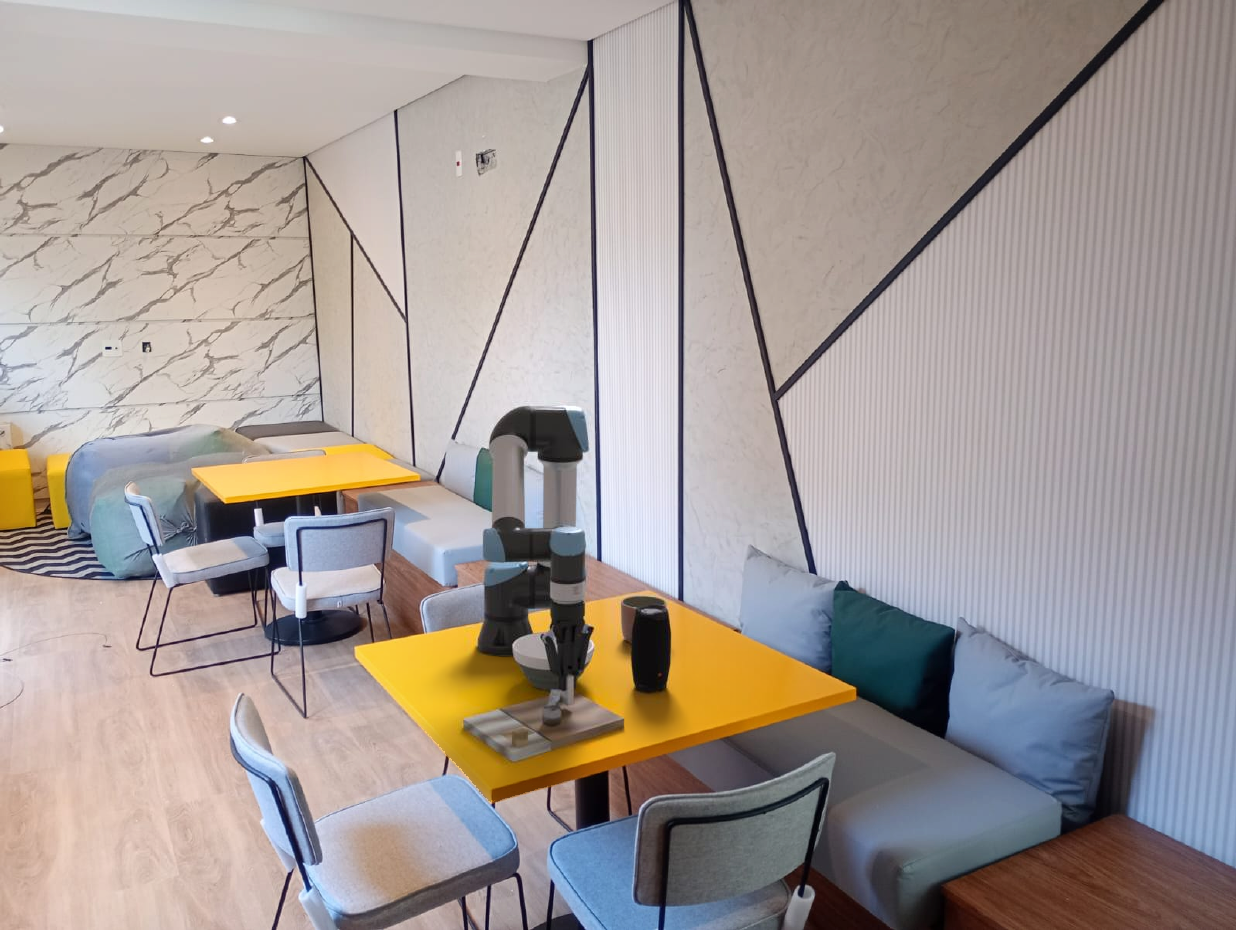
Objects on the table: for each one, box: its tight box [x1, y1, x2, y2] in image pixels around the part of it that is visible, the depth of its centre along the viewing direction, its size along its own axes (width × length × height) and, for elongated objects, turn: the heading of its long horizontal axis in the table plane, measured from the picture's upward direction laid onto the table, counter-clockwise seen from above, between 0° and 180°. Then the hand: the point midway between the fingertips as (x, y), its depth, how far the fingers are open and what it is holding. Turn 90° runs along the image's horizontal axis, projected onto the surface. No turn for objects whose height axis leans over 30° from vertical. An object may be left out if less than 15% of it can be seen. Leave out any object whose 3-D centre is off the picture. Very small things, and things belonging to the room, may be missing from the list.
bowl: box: [512, 631, 595, 691], centre depth 232 cm, size 20×20×10 cm
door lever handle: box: [542, 689, 561, 726], centre depth 209 cm, size 14×4×3 cm, turn 179°
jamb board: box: [462, 691, 625, 763], centre depth 207 cm, size 20×28×5 cm
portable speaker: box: [630, 604, 672, 694], centre depth 229 cm, size 9×9×20 cm
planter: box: [620, 595, 667, 644], centre depth 263 cm, size 12×12×11 cm
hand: (567, 703), depth 212 cm, fingers closed
